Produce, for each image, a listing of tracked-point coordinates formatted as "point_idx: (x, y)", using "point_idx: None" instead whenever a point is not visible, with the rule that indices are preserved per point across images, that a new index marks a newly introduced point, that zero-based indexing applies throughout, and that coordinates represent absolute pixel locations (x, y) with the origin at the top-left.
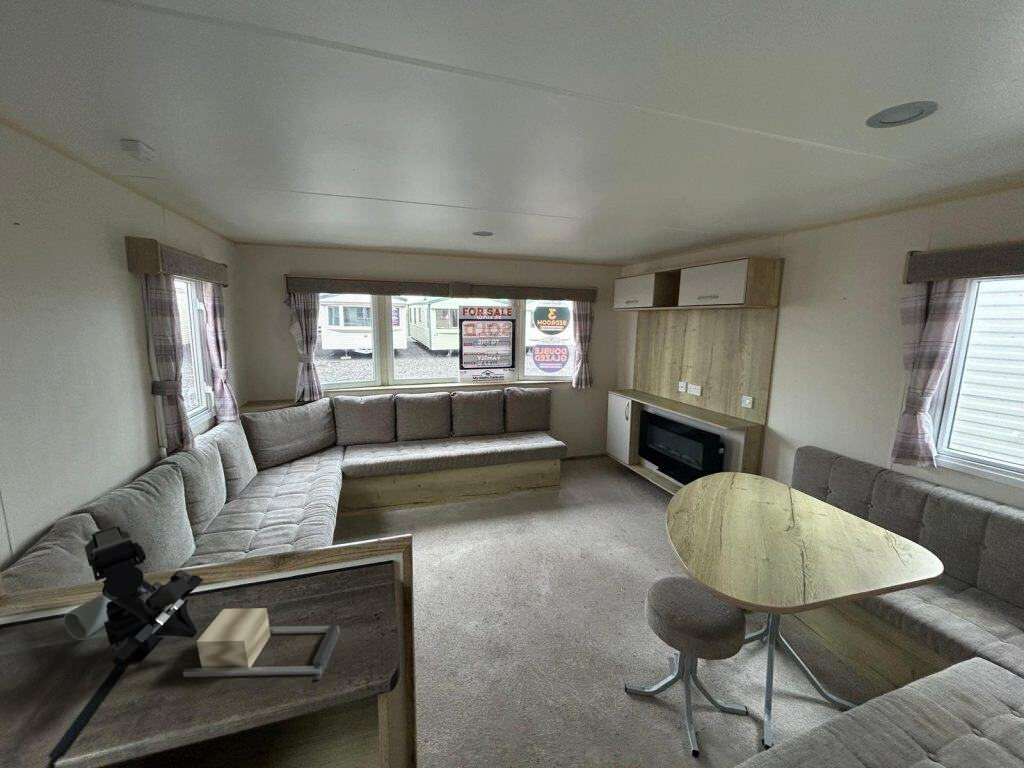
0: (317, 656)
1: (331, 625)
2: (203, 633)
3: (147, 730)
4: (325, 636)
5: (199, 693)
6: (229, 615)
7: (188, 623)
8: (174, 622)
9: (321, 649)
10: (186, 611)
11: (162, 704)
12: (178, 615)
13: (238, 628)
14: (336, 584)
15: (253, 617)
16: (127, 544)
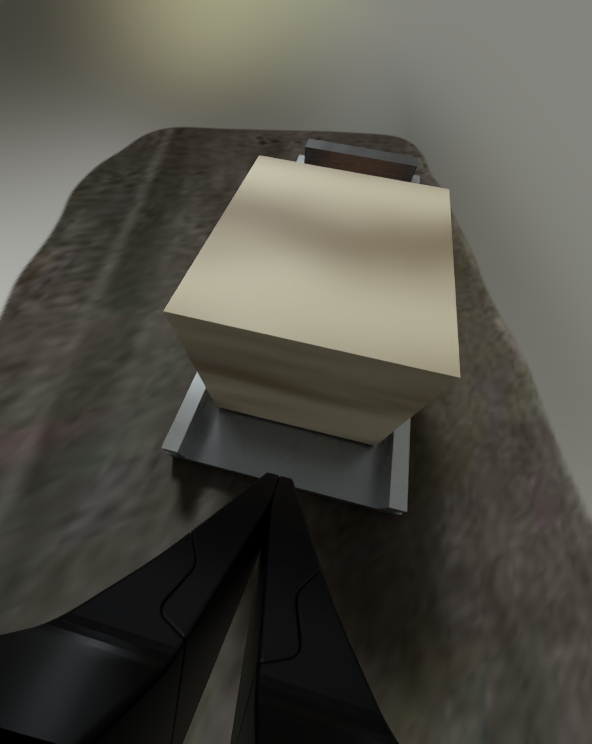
0: (405, 160)
1: (312, 145)
2: (389, 359)
3: (582, 564)
4: (345, 152)
5: (438, 436)
6: (253, 266)
7: (244, 531)
8: (335, 718)
9: (385, 156)
10: (83, 611)
11: (483, 561)
12: (137, 742)
13: (372, 214)
14: (109, 191)
15: (306, 183)
16: None
